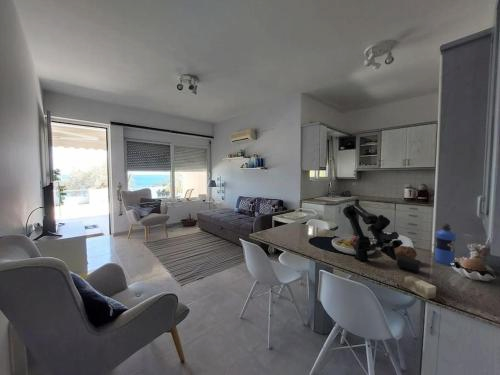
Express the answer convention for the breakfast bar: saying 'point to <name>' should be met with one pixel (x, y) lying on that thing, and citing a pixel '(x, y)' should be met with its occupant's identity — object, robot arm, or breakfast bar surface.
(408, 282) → the beech block
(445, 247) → the water bottle
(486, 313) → the breakfast bar surface
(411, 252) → the decorative rock
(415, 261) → the end cap
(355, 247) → the robot arm
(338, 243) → the bowl
